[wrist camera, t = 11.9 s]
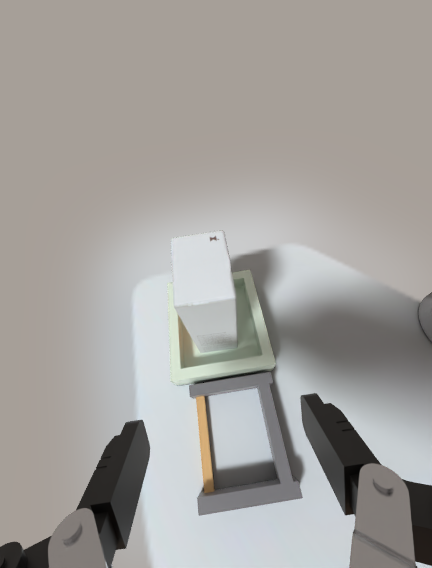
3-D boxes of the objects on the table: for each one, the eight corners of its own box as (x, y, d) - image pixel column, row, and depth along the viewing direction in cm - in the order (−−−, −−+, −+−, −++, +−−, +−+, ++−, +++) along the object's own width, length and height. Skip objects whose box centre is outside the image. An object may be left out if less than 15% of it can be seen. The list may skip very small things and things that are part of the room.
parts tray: (249, 282, 30) (250, 269, 27) (272, 370, 24) (276, 363, 21) (173, 295, 30) (167, 283, 27) (177, 386, 24) (170, 381, 21)
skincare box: (195, 305, 28) (169, 235, 17) (229, 300, 28) (225, 227, 17) (199, 355, 24) (171, 307, 14) (238, 350, 24) (239, 297, 14)
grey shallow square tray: (268, 375, 24) (270, 371, 22) (297, 491, 19) (302, 498, 17) (192, 387, 24) (189, 385, 22) (201, 508, 19) (198, 515, 17)
